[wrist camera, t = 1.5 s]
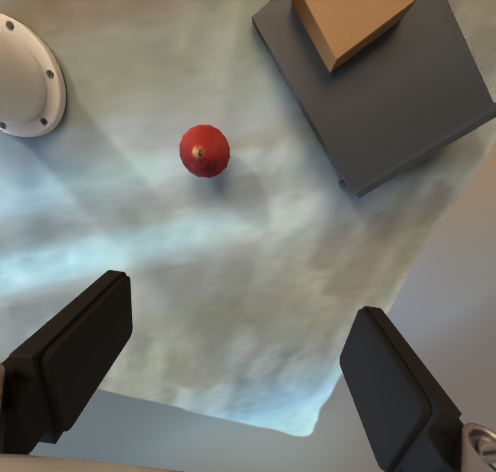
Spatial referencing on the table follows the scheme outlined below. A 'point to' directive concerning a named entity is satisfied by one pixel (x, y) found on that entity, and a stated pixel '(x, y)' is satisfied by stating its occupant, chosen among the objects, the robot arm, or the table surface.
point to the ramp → (382, 91)
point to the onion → (204, 151)
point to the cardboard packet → (347, 24)
